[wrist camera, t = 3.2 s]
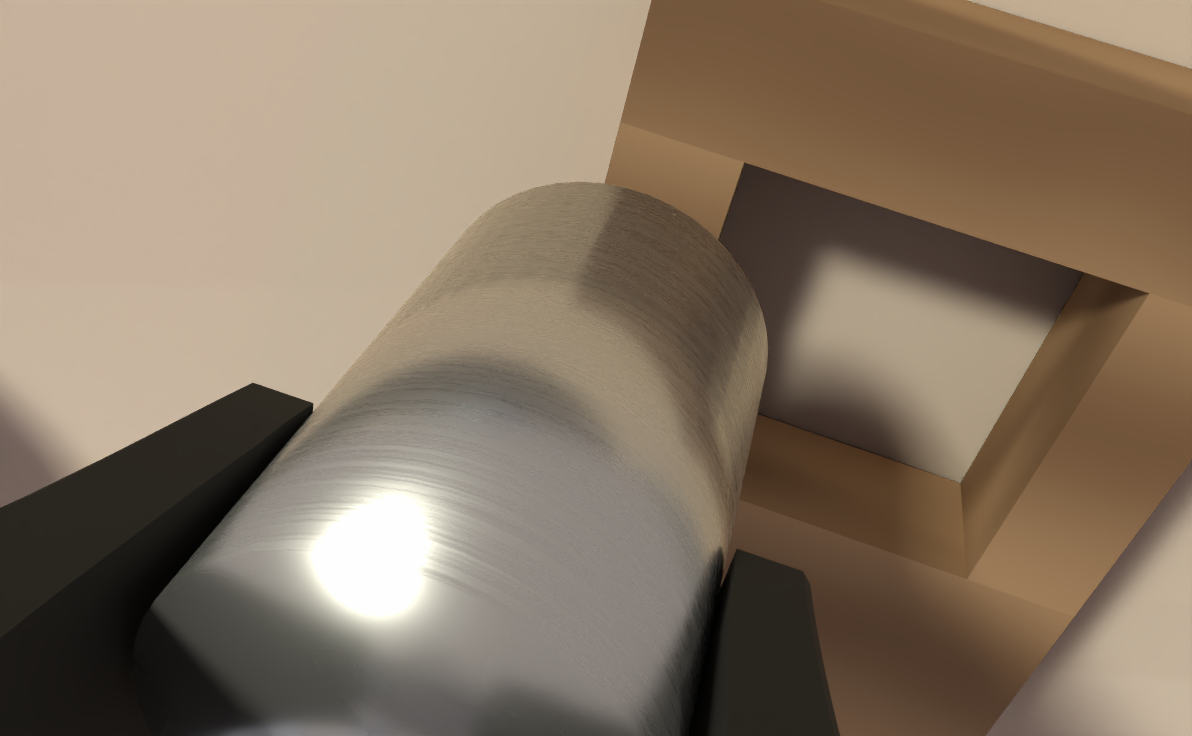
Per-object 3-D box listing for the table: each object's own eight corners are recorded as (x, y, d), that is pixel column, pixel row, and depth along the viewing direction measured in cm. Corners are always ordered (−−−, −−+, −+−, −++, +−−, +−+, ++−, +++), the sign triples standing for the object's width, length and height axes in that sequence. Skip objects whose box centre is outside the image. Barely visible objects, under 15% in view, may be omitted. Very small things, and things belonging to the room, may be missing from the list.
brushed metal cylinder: (722, 513, 13) (613, 995, 8) (427, 427, 14) (156, 833, 9) (809, 234, 11) (729, 670, 6) (450, 143, 11) (101, 475, 6)
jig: (934, 695, 21) (937, 799, 19) (527, 549, 22) (488, 634, 20) (1329, 111, 14) (1401, 179, 12) (697, -82, 15) (663, -48, 13)
